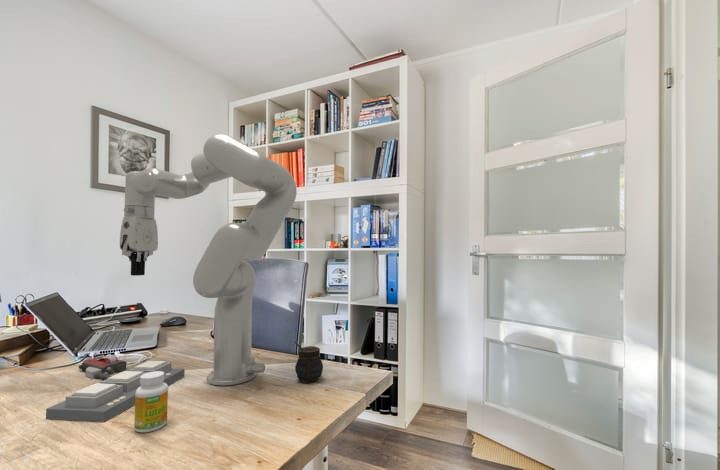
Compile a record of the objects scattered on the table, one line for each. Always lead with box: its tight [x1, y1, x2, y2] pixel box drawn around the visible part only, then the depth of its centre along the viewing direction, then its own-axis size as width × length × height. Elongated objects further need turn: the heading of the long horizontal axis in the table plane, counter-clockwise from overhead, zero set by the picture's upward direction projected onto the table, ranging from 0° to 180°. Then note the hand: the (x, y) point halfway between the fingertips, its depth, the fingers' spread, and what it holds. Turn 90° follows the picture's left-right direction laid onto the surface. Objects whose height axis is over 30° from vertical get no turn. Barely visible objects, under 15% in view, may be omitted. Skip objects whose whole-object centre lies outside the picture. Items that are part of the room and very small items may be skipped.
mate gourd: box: [293, 341, 324, 384], centre depth 88 cm, size 7×8×10 cm
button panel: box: [45, 361, 186, 423], centre depth 79 cm, size 13×25×4 cm, turn 173°
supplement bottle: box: [133, 371, 169, 433], centre depth 65 cm, size 5×5×10 cm
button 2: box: [106, 370, 144, 382], centre depth 79 cm, size 5×5×2 cm
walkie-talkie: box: [78, 354, 128, 380], centre depth 95 cm, size 9×4×20 cm
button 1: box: [133, 360, 167, 370], centre depth 87 cm, size 5×5×2 cm
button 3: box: [73, 382, 116, 397], centre depth 72 cm, size 5×5×2 cm
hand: (137, 275), depth 99 cm, fingers closed
